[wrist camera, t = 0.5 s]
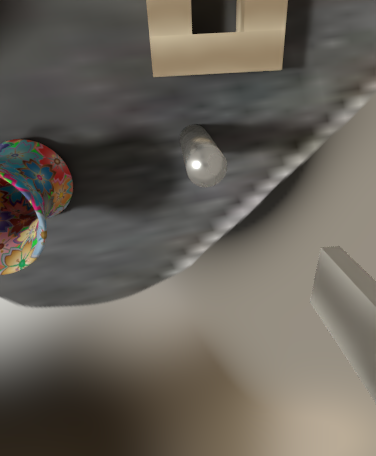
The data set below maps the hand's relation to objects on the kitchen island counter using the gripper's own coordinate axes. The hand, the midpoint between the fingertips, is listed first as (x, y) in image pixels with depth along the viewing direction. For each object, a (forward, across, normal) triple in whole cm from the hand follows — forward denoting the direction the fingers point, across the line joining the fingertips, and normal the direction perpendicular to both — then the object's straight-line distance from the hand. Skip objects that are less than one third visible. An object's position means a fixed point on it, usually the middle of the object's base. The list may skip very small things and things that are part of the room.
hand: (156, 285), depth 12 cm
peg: (+22, +4, +2) cm, 22 cm away
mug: (+22, -14, -1) cm, 26 cm away
